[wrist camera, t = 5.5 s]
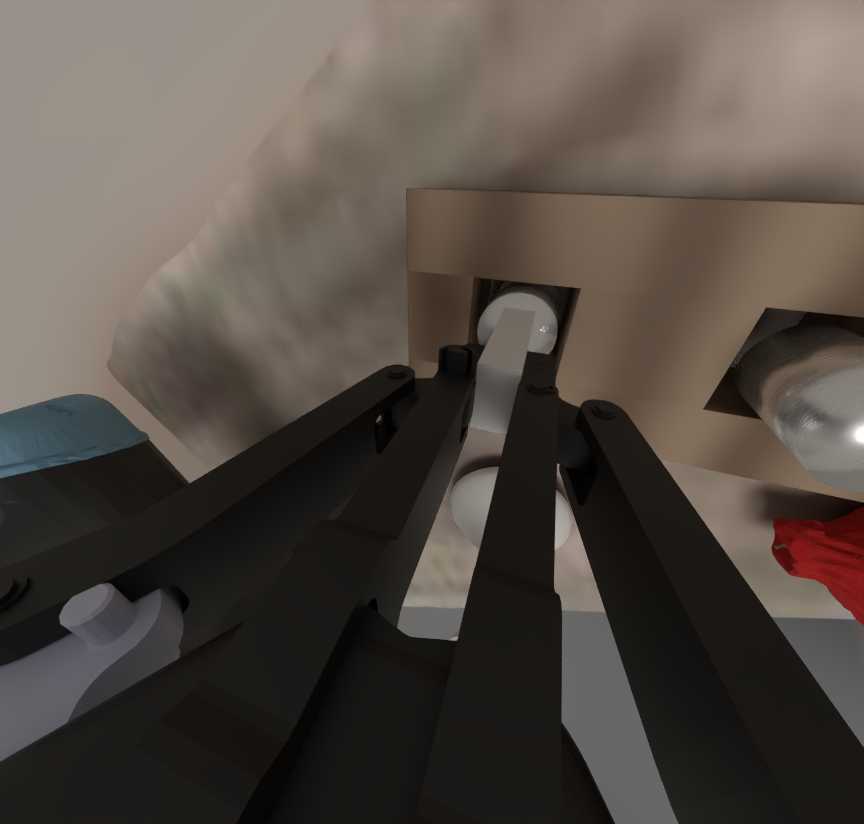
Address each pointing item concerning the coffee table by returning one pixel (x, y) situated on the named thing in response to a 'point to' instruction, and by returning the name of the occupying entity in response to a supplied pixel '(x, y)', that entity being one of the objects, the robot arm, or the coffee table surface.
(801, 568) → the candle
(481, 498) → the flower in vase
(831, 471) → the steel peg
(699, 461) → the walnut block
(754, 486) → the coffee table surface
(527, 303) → the steel peg
